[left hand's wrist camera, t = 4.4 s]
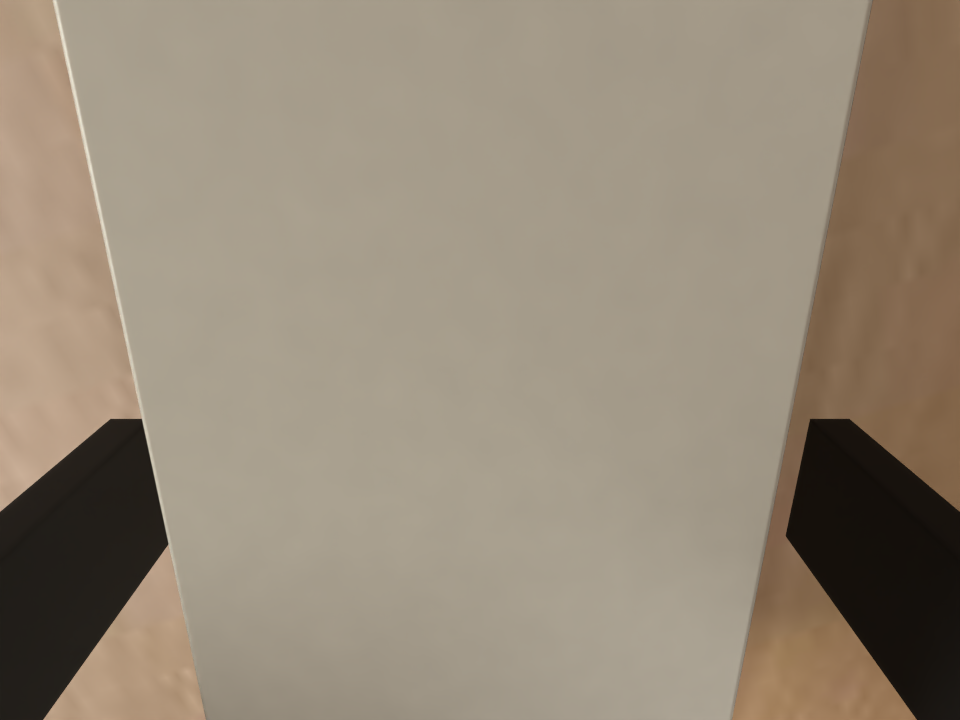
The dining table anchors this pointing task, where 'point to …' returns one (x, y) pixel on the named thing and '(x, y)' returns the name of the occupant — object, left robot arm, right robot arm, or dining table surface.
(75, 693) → the dining table surface
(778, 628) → the dining table surface
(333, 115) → the board
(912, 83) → the dining table surface
